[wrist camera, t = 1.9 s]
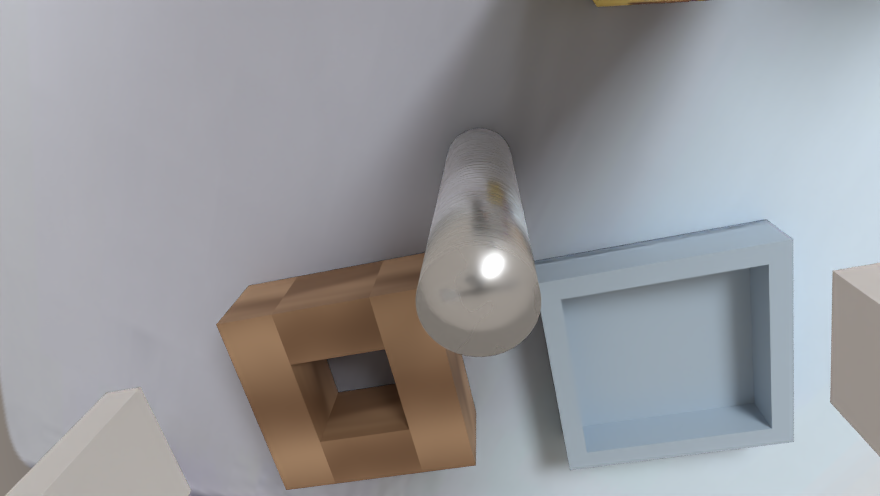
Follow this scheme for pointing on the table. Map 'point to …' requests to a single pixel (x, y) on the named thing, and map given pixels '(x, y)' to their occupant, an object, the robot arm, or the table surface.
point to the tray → (672, 344)
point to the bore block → (358, 411)
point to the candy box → (635, 2)
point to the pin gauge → (478, 253)
